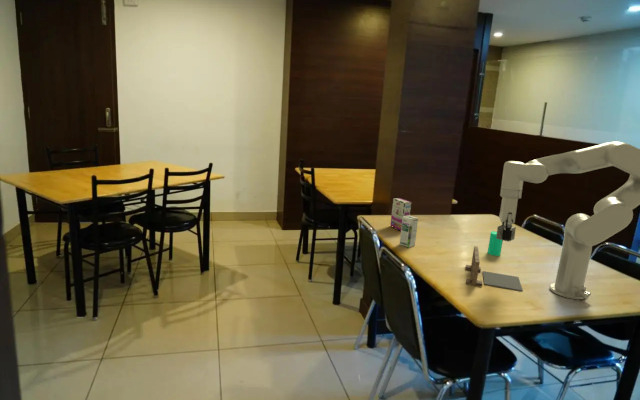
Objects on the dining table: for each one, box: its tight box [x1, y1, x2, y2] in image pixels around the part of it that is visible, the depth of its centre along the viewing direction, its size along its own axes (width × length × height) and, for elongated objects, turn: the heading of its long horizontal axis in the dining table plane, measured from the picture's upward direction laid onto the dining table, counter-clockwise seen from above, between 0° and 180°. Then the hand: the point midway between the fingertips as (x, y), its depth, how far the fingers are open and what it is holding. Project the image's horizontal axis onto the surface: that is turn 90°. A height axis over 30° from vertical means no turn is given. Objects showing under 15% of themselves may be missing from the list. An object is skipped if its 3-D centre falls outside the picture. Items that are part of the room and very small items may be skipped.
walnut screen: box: [465, 245, 483, 287], centre depth 175 cm, size 20×6×10 cm, turn 162°
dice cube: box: [496, 224, 517, 242], centre depth 169 cm, size 5×5×5 cm
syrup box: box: [399, 215, 419, 248], centre depth 209 cm, size 6×6×14 cm
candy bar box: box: [390, 197, 412, 232], centre depth 236 cm, size 11×5×16 cm, turn 25°
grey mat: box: [482, 270, 524, 292], centre depth 173 cm, size 14×14×1 cm
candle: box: [487, 230, 504, 257], centre depth 205 cm, size 6×6×12 cm
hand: (505, 236), depth 169 cm, fingers closed on dice cube, 6 cm apart
